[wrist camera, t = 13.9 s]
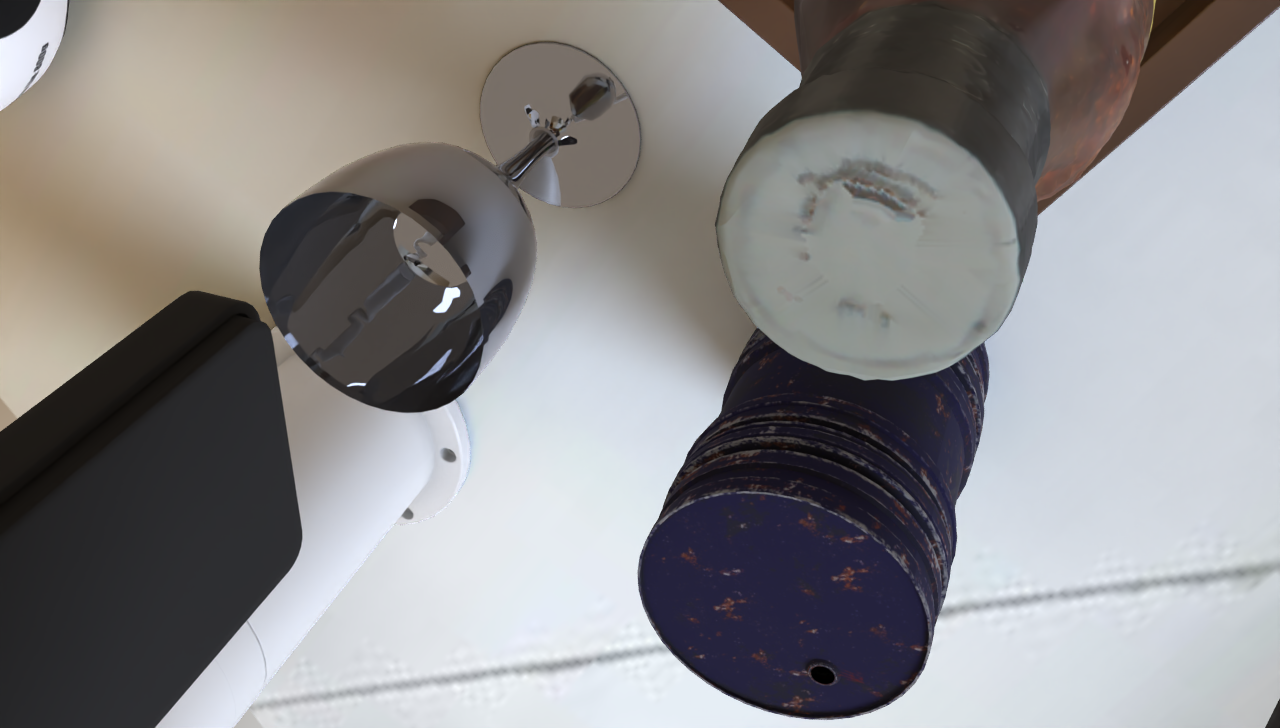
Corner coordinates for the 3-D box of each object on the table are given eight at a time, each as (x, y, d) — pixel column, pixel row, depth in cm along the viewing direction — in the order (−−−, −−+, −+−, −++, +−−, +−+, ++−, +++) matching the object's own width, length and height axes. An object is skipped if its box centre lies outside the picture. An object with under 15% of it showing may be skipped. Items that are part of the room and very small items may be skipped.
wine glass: (435, 99, 51) (215, 265, 39) (564, -9, 46) (358, 142, 35) (554, 247, 53) (378, 446, 41) (689, 157, 48) (534, 353, 37)
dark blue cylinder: (712, 309, 52) (578, 531, 40) (920, 222, 46) (835, 449, 35) (827, 487, 55) (733, 742, 43) (1034, 424, 49) (991, 696, 38)
